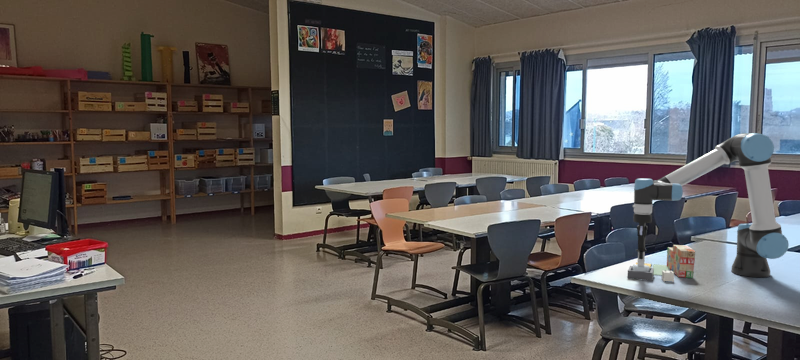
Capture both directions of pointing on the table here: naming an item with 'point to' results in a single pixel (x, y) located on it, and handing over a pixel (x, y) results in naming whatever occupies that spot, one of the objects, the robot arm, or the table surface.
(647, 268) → the white rounded block
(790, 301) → the table surface
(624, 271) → the table surface
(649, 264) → the pad
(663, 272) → the die
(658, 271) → the square one pad
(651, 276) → the box
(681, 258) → the printed cardboard box
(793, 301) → the table surface
